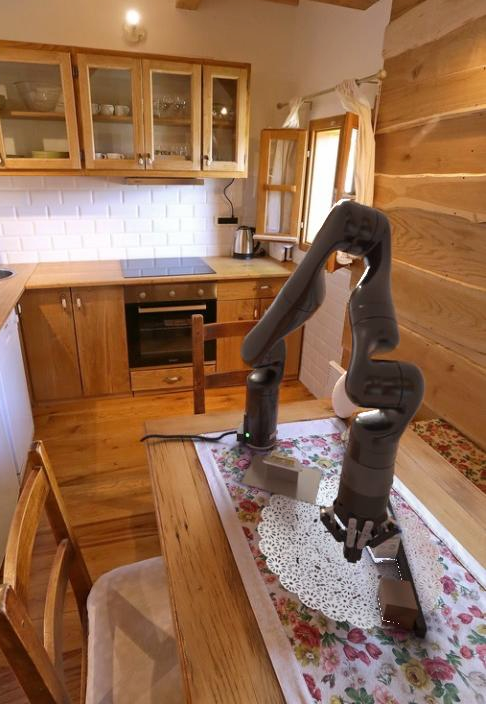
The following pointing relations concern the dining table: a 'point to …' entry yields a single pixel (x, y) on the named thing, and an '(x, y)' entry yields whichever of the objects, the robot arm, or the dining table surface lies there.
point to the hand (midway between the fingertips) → (350, 558)
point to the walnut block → (396, 603)
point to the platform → (283, 477)
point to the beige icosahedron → (345, 437)
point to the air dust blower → (342, 400)
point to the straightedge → (406, 575)
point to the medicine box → (388, 546)
